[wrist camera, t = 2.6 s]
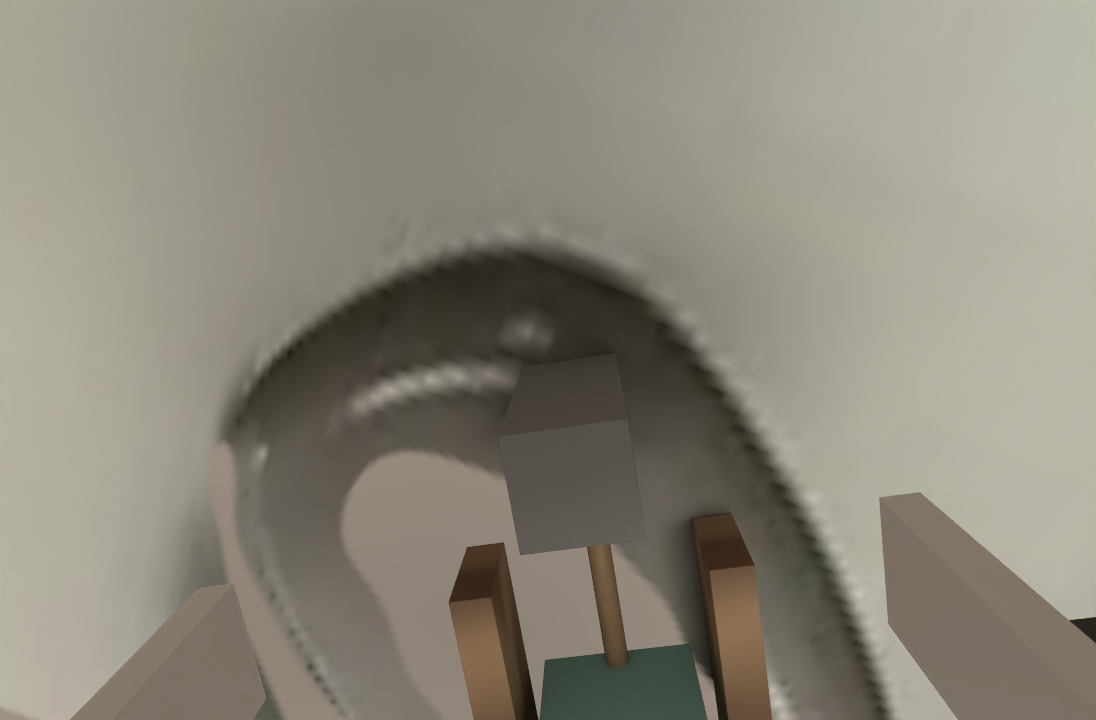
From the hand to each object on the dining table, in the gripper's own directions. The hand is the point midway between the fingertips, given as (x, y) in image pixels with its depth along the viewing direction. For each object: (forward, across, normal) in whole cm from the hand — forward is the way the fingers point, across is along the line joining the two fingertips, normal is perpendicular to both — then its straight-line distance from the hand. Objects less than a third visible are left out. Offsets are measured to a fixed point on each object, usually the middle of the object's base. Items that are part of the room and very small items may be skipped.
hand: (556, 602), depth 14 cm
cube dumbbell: (+13, 0, -7) cm, 15 cm away
